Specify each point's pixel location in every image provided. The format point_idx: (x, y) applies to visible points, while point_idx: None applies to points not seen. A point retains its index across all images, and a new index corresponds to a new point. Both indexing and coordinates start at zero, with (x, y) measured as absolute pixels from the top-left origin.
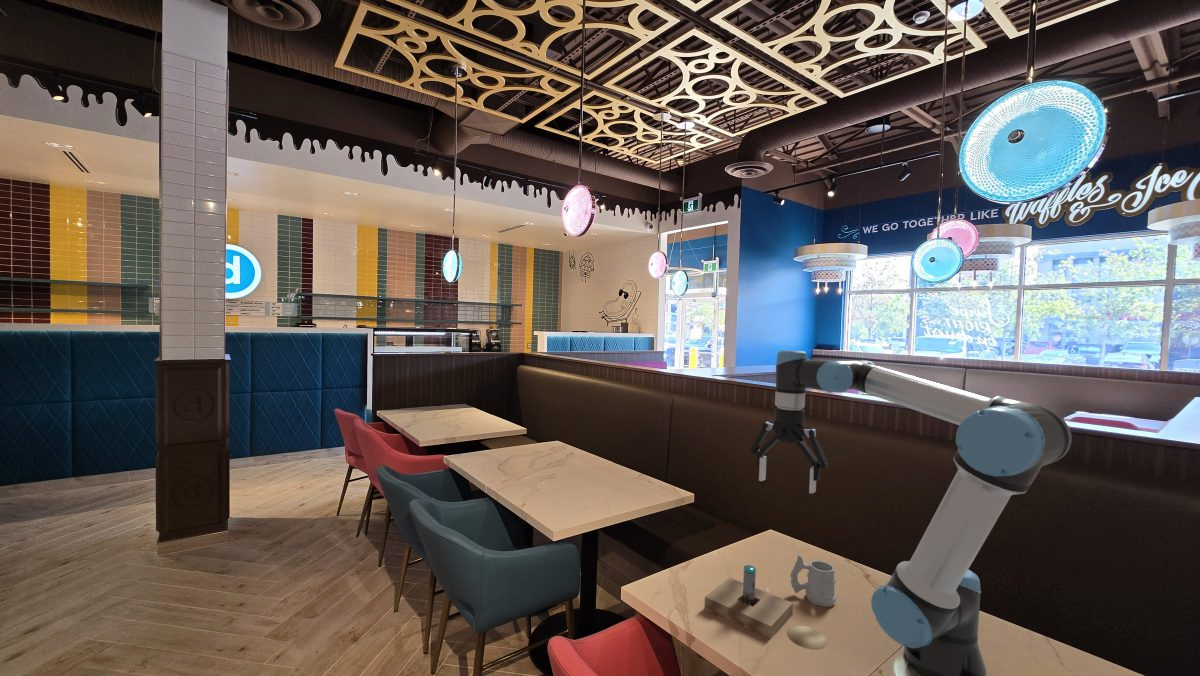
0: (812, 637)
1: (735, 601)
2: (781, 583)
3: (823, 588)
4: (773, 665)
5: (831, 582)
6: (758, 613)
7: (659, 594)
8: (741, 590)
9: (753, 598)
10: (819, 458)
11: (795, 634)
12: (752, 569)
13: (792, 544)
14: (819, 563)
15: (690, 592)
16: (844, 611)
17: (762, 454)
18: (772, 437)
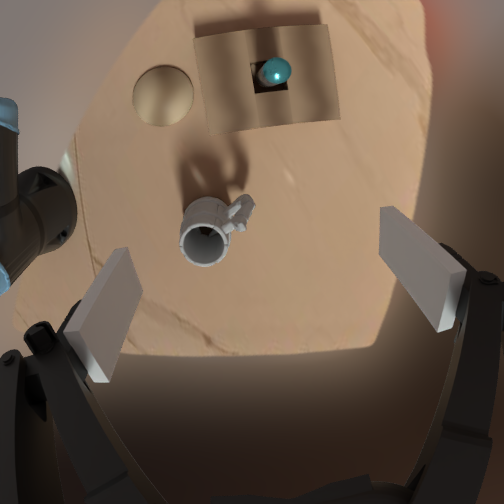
0: (155, 103)
1: (281, 51)
2: (283, 214)
3: (190, 213)
4: (161, 3)
5: (180, 229)
6: (229, 51)
7: (395, 19)
8: (297, 93)
9: (258, 74)
10: (6, 393)
11: (176, 86)
12: (269, 69)
13: (332, 340)
14: (217, 257)
15: (370, 58)
16: (168, 220)
17: (464, 314)
18: (486, 455)
